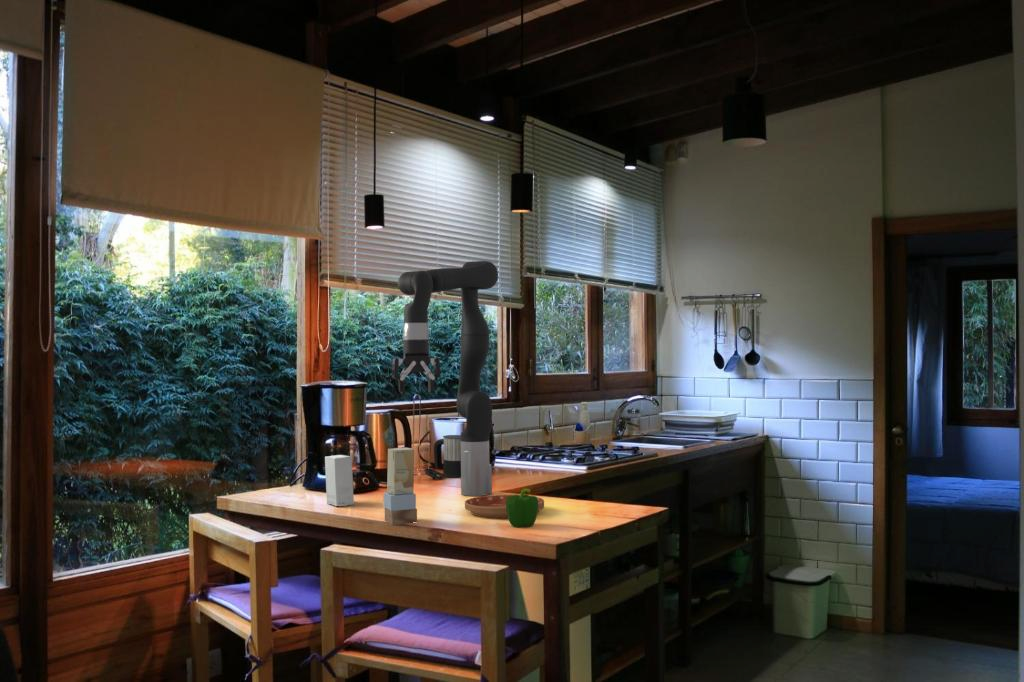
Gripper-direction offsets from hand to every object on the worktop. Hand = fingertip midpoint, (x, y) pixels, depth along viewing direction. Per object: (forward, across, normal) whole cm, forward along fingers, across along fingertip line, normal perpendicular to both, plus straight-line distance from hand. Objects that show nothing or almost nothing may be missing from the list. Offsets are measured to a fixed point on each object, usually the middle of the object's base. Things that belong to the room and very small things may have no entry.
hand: (416, 393), depth 271 cm
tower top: (+30, +10, +18) cm, 37 cm away
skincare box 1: (+34, +20, -16) cm, 43 cm away
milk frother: (+34, -27, -55) cm, 70 cm away
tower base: (+34, +10, +18) cm, 40 cm away
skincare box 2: (+26, +10, +18) cm, 34 cm away
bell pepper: (+34, -18, +37) cm, 54 cm away
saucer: (+35, -21, +17) cm, 44 cm away
